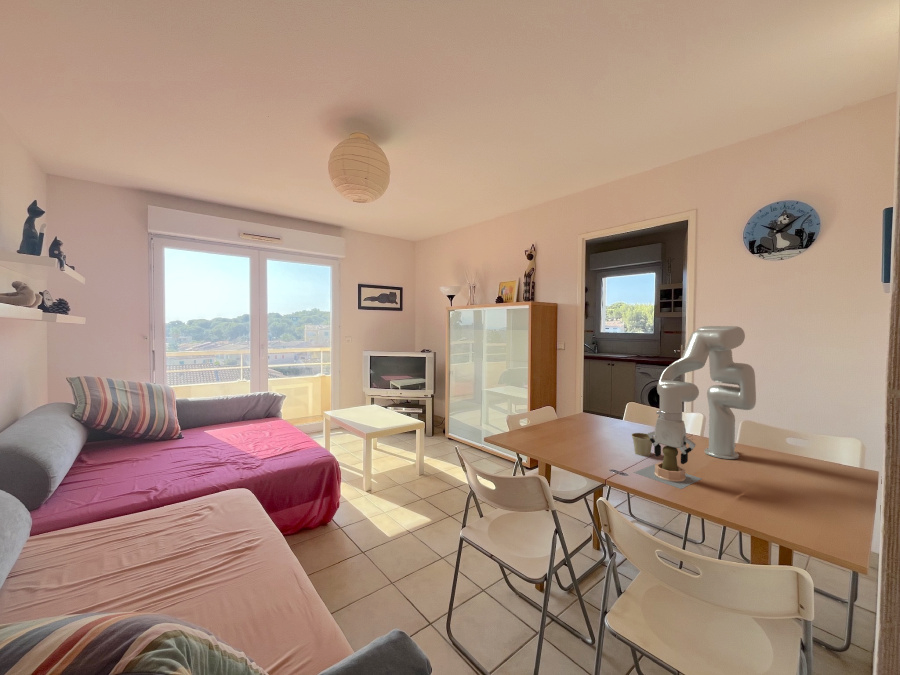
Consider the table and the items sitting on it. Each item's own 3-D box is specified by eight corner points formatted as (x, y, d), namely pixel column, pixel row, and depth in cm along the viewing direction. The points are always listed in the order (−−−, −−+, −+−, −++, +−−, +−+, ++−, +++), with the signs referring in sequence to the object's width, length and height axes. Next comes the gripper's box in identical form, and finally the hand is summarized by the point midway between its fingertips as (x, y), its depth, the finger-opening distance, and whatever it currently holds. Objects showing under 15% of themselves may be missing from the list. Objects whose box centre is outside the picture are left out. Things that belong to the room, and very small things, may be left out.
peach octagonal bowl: (663, 469, 153) (663, 460, 152) (690, 477, 144) (690, 468, 144) (649, 474, 147) (649, 465, 147) (676, 484, 138) (677, 474, 138)
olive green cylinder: (676, 472, 147) (677, 445, 147) (680, 478, 142) (681, 450, 141) (659, 470, 149) (659, 443, 149) (662, 476, 144) (663, 448, 143)
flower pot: (658, 458, 166) (658, 438, 166) (637, 458, 166) (637, 439, 166) (647, 451, 175) (647, 432, 175) (627, 451, 176) (627, 432, 175)
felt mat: (655, 464, 158) (655, 464, 158) (702, 479, 143) (702, 478, 143) (633, 473, 149) (633, 472, 149) (681, 490, 134) (681, 488, 134)
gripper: (643, 413, 150) (643, 455, 151) (690, 422, 135) (689, 468, 136) (653, 410, 154) (653, 451, 155) (700, 419, 139) (699, 464, 140)
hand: (670, 459), depth 145 cm, fingers open, 9 cm apart
